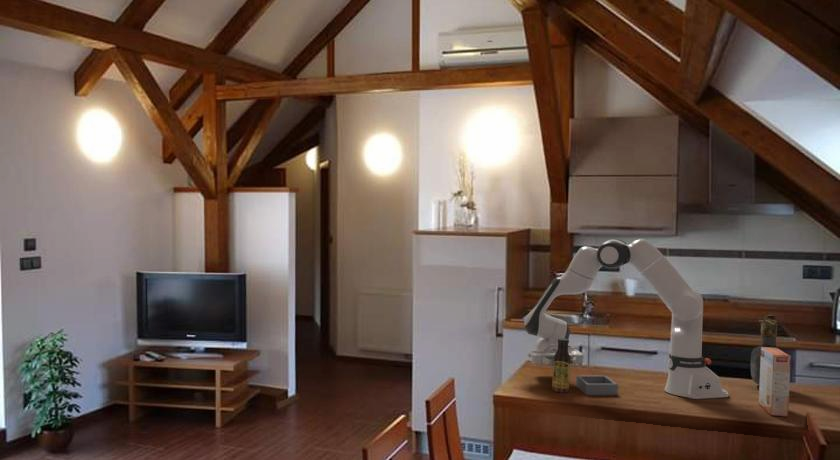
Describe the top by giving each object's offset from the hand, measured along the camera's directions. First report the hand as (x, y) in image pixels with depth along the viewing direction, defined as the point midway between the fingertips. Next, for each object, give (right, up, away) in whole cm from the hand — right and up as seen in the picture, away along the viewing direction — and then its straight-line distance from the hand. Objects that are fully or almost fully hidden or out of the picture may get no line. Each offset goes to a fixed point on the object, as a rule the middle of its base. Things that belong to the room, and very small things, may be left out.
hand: (561, 362), depth 255 cm
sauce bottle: (0, -11, +1) cm, 11 cm away
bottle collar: (+14, -11, +3) cm, 18 cm away
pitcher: (+81, -12, +9) cm, 83 cm away
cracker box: (+69, -13, -20) cm, 73 cm away
